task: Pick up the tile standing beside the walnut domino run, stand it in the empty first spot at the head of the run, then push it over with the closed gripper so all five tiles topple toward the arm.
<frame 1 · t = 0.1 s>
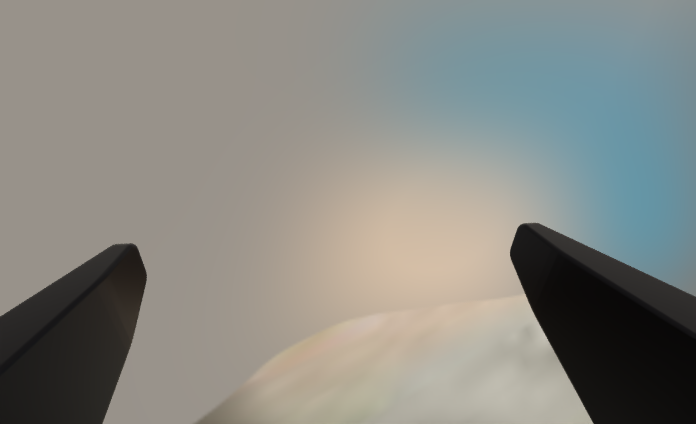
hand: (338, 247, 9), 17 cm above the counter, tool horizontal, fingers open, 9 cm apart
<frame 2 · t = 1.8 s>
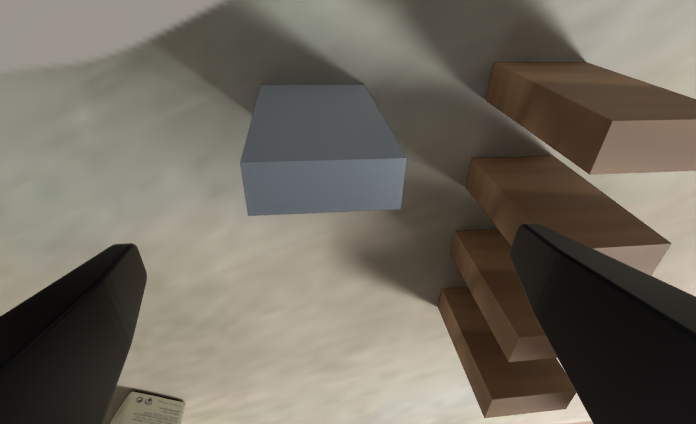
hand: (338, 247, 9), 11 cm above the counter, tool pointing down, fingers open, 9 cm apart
domino 2: (535, 81, 19), on the counter
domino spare: (313, 103, 18), on the counter
skincare box: (147, 412, 30), on the counter
domino 3: (508, 171, 21), on the counter
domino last: (472, 295, 27), on the counter
domino 4: (488, 240, 24), on the counter
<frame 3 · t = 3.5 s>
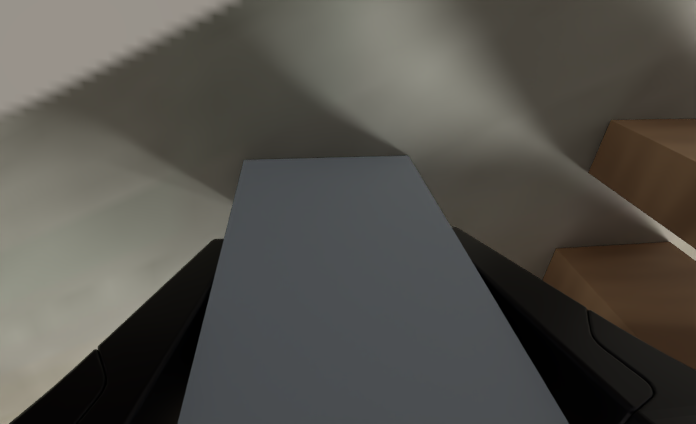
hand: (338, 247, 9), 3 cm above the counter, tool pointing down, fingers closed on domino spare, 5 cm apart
domino 2: (666, 145, 12), on the counter
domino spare: (328, 184, 11), on the counter, touching gripper
domino 3: (604, 262, 15), on the counter
when the fingers open (4 cm above the counter, at t = 8.5 s): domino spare stays where it is, on the counter.
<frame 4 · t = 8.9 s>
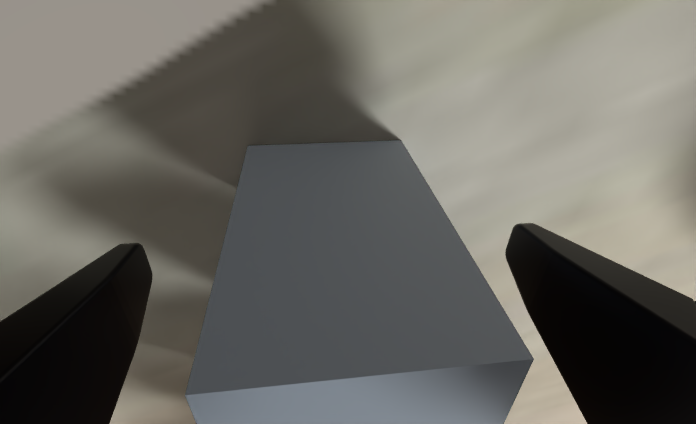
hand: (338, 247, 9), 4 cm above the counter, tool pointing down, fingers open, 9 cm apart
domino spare: (326, 168, 12), on the counter
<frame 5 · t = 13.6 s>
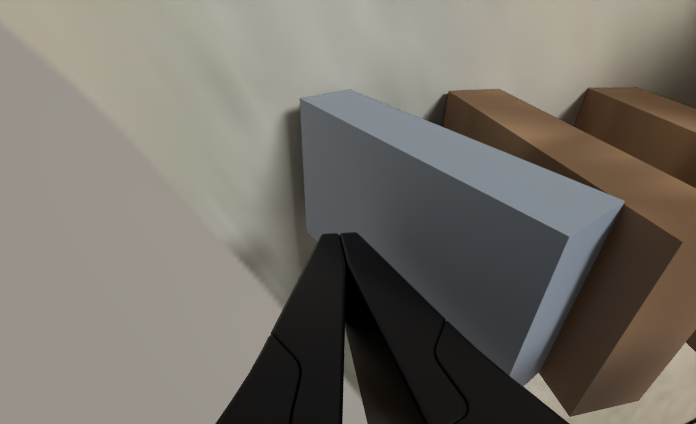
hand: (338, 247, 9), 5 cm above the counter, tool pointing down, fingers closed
domino 2: (460, 157, 13), on the counter
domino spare: (326, 165, 13), on the counter, tilted 28°
domino 3: (586, 152, 14), on the counter
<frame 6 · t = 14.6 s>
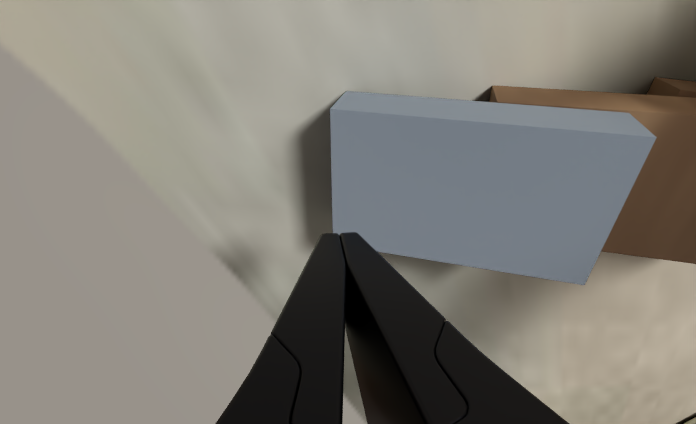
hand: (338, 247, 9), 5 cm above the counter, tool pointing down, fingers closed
domino 2: (479, 162, 13), point 1 cm above the counter, tilted 70°, touching domino 3, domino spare
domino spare: (339, 171, 12), point 1 cm above the counter, tilted 69°, touching domino 2
domino 3: (631, 151, 13), point 1 cm above the counter, tilted 69°, touching domino 2, domino 4
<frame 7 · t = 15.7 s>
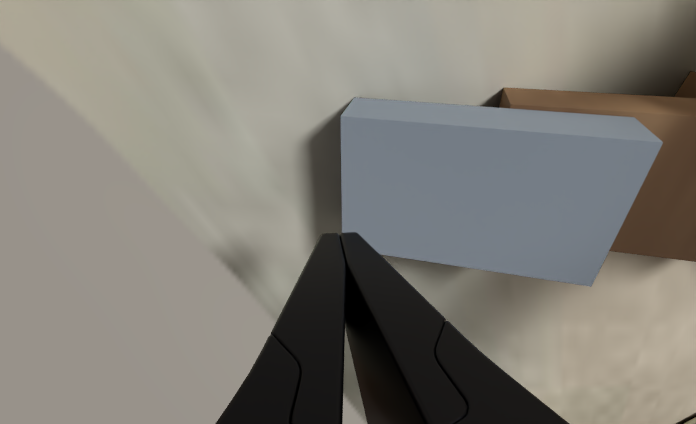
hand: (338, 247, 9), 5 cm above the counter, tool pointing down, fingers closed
domino 2: (490, 164, 13), point 1 cm above the counter, tilted 71°, touching domino 3, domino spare
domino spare: (348, 176, 13), point 1 cm above the counter, tilted 70°, touching domino 2
domino 3: (659, 144, 13), point 1 cm above the counter, tilted 69°, touching domino 2, domino 4
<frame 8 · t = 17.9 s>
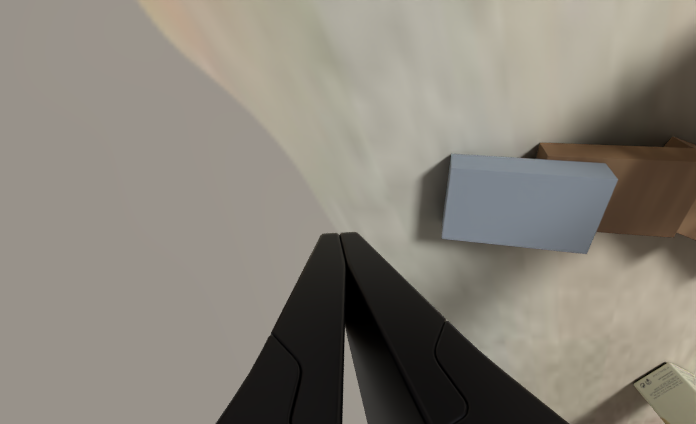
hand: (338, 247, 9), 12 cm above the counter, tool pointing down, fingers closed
domino 2: (533, 185, 22), point 1 cm above the counter, tilted 73°, touching domino 3, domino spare
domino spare: (446, 197, 22), point 1 cm above the counter, tilted 71°, touching domino 2
skincare box: (661, 377, 40), on the counter
domino 3: (650, 175, 23), point 1 cm above the counter, tilted 68°, touching domino 2
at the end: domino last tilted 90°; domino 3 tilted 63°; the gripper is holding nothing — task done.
